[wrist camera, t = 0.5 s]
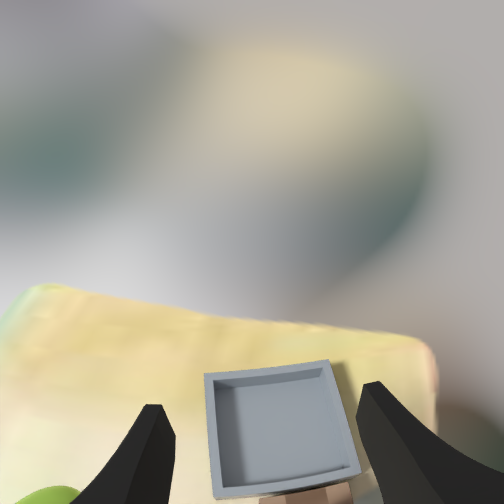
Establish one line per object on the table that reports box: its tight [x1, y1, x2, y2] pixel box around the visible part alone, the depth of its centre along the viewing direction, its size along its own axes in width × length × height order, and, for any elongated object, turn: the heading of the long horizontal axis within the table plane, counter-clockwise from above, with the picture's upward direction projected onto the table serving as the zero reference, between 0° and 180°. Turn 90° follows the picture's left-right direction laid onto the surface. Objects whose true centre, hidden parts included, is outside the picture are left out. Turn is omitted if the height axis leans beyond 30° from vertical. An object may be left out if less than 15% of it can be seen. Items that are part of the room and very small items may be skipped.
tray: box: [204, 359, 362, 500], centre depth 25 cm, size 12×12×2 cm
